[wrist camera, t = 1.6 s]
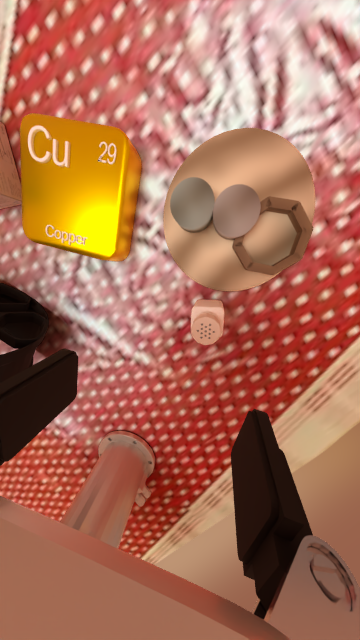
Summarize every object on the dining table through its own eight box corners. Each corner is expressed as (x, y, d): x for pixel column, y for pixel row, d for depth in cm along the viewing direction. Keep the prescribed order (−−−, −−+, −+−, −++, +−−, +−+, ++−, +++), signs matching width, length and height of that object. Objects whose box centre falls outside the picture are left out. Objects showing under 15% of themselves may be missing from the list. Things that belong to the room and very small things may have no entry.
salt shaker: (222, 299, 27) (226, 313, 18) (221, 325, 28) (223, 350, 19) (196, 298, 28) (187, 311, 19) (195, 323, 29) (186, 347, 20)
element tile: (46, 243, 31) (17, 238, 26) (48, 134, 26) (13, 105, 22) (129, 264, 29) (113, 263, 25) (145, 151, 25) (129, 125, 20)
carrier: (332, 240, 23) (362, 232, 18) (208, 312, 28) (207, 320, 24) (263, 100, 21) (277, 50, 16) (143, 206, 26) (127, 192, 21)
